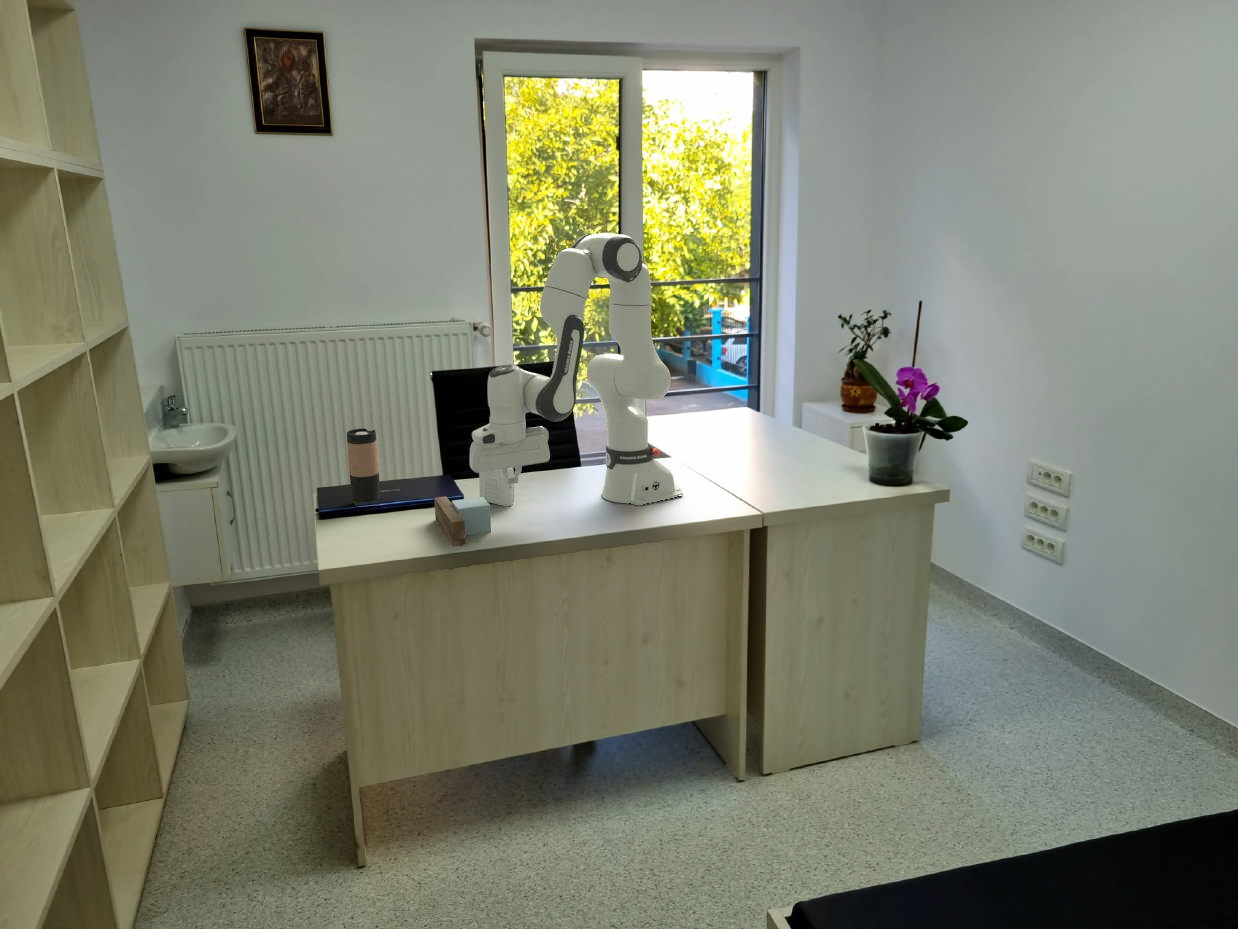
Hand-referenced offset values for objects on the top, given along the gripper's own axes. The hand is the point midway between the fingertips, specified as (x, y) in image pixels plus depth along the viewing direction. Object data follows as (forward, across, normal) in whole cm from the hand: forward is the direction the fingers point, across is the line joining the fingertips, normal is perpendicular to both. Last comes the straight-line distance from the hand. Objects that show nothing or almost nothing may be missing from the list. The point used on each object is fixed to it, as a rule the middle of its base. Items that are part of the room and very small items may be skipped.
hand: (511, 483), depth 238 cm
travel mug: (+9, +33, -28) cm, 44 cm away
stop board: (+9, +17, +2) cm, 20 cm away
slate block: (+10, +12, +2) cm, 15 cm away
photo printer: (+11, 0, -16) cm, 19 cm away
